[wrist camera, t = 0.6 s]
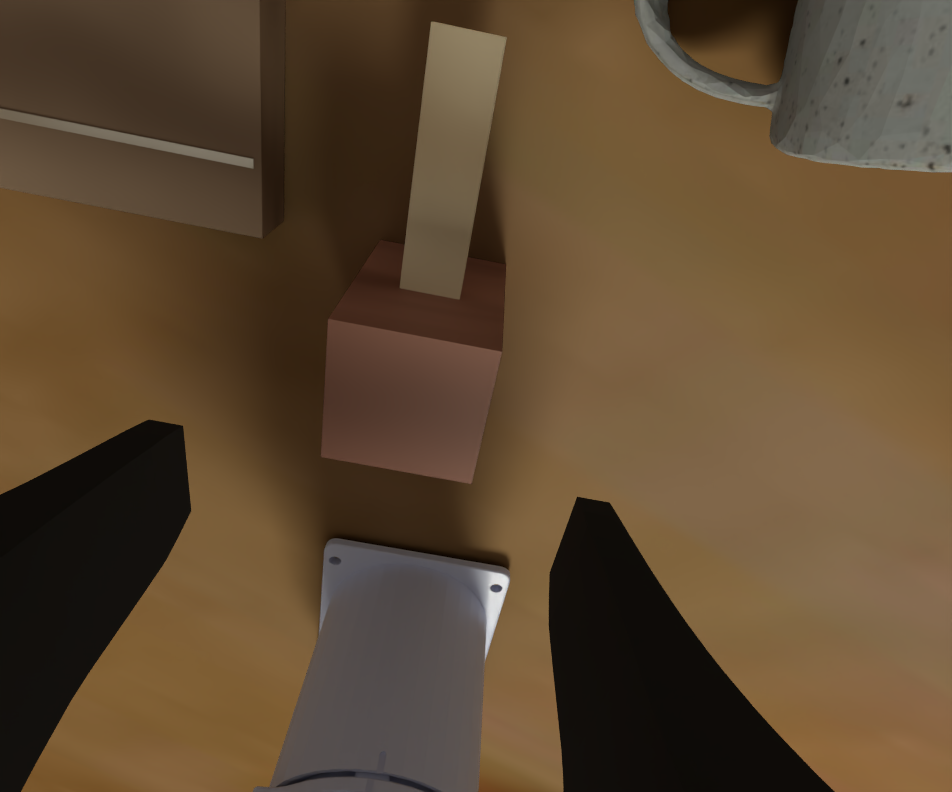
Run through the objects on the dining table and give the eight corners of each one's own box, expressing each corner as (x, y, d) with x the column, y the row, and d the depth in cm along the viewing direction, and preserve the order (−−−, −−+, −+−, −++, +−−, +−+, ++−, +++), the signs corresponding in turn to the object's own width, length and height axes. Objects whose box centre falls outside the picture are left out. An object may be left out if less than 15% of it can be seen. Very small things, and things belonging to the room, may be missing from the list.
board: (283, 221, 18) (261, 239, 17) (-186, 129, 18) (-255, 138, 16) (285, -11, 15) (258, -17, 13) (-287, -134, 14) (-385, -154, 13)
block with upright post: (482, 372, 21) (471, 484, 16) (369, 351, 20) (320, 456, 15) (553, 46, 15) (572, 52, 10) (402, 13, 15) (344, 4, 10)
